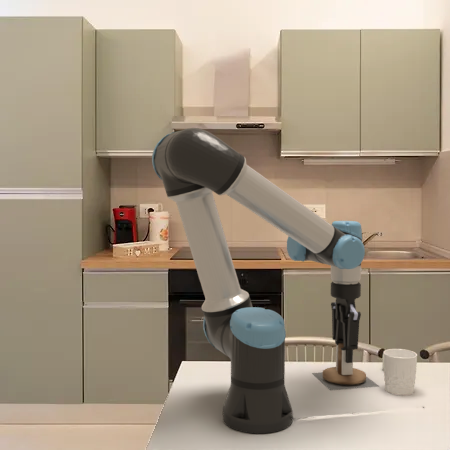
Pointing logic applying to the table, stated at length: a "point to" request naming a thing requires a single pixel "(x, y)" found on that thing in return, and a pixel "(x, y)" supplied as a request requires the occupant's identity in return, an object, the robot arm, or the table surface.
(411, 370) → the white cup
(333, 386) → the mat
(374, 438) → the table surface
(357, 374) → the walnut lid
